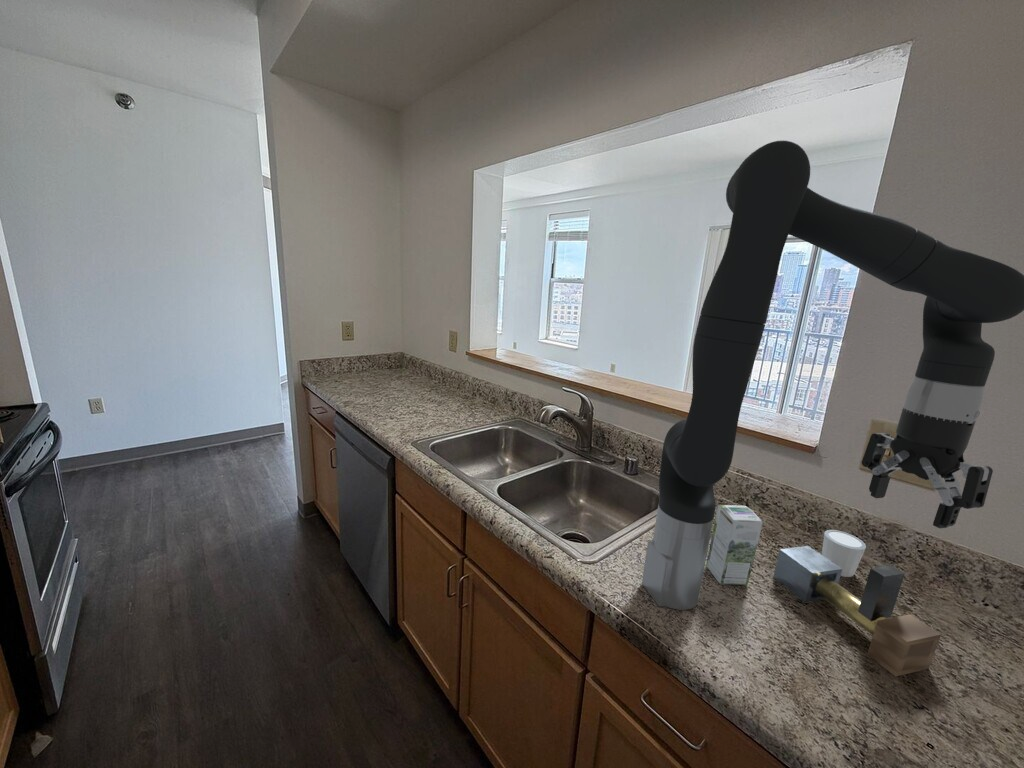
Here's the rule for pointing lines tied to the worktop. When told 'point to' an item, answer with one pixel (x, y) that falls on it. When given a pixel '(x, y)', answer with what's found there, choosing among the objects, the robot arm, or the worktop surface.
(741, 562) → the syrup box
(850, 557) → the shot glass
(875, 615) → the slide bolt
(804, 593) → the block
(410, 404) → the worktop surface
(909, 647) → the socket block
